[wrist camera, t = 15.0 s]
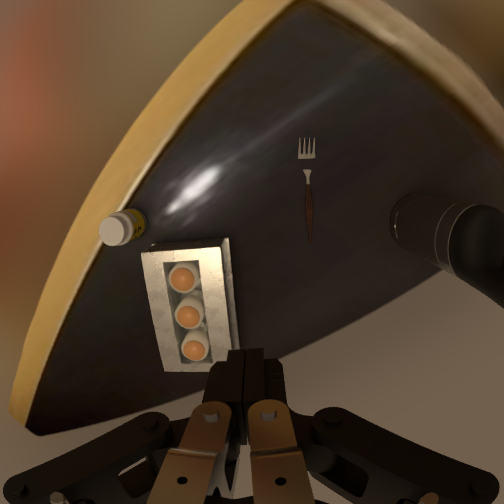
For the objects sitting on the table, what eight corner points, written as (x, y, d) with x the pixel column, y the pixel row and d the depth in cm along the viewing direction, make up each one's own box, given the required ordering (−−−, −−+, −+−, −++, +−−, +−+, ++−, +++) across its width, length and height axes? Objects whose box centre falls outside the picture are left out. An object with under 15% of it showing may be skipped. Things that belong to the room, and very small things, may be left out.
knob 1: (202, 254, 46) (194, 264, 41) (205, 279, 47) (198, 293, 41) (176, 255, 47) (165, 266, 41) (180, 280, 47) (170, 294, 42)
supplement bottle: (134, 243, 48) (111, 256, 40) (115, 222, 47) (90, 231, 39) (153, 223, 47) (132, 232, 39) (133, 201, 46) (110, 206, 38)
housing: (228, 237, 47) (223, 246, 40) (240, 347, 51) (237, 370, 45) (153, 243, 48) (137, 253, 41) (172, 349, 52) (161, 371, 45)
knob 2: (206, 288, 48) (200, 303, 42) (209, 312, 48) (203, 329, 43) (181, 290, 48) (172, 304, 42) (185, 313, 49) (176, 330, 43)
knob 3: (211, 321, 49) (205, 339, 43) (214, 342, 50) (209, 362, 44) (186, 321, 49) (178, 339, 43) (190, 343, 50) (183, 362, 44)
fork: (301, 243, 48) (302, 246, 46) (296, 138, 44) (298, 137, 42) (317, 243, 48) (320, 245, 46) (313, 138, 44) (316, 137, 42)
